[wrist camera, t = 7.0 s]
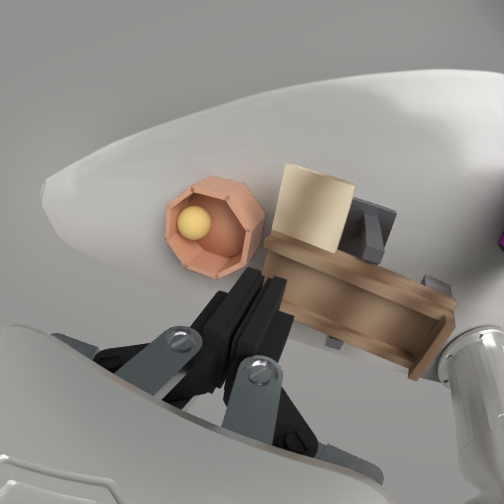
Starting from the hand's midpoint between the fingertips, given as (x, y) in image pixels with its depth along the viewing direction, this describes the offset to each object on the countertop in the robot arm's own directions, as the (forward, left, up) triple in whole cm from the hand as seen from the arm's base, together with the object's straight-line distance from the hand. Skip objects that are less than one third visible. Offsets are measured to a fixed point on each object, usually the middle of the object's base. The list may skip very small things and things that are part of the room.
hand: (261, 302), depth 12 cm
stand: (-6, +7, -22) cm, 24 cm away
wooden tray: (-7, +4, -18) cm, 19 cm away
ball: (+13, +7, -19) cm, 24 cm away
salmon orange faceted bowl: (+10, +7, -22) cm, 26 cm away
